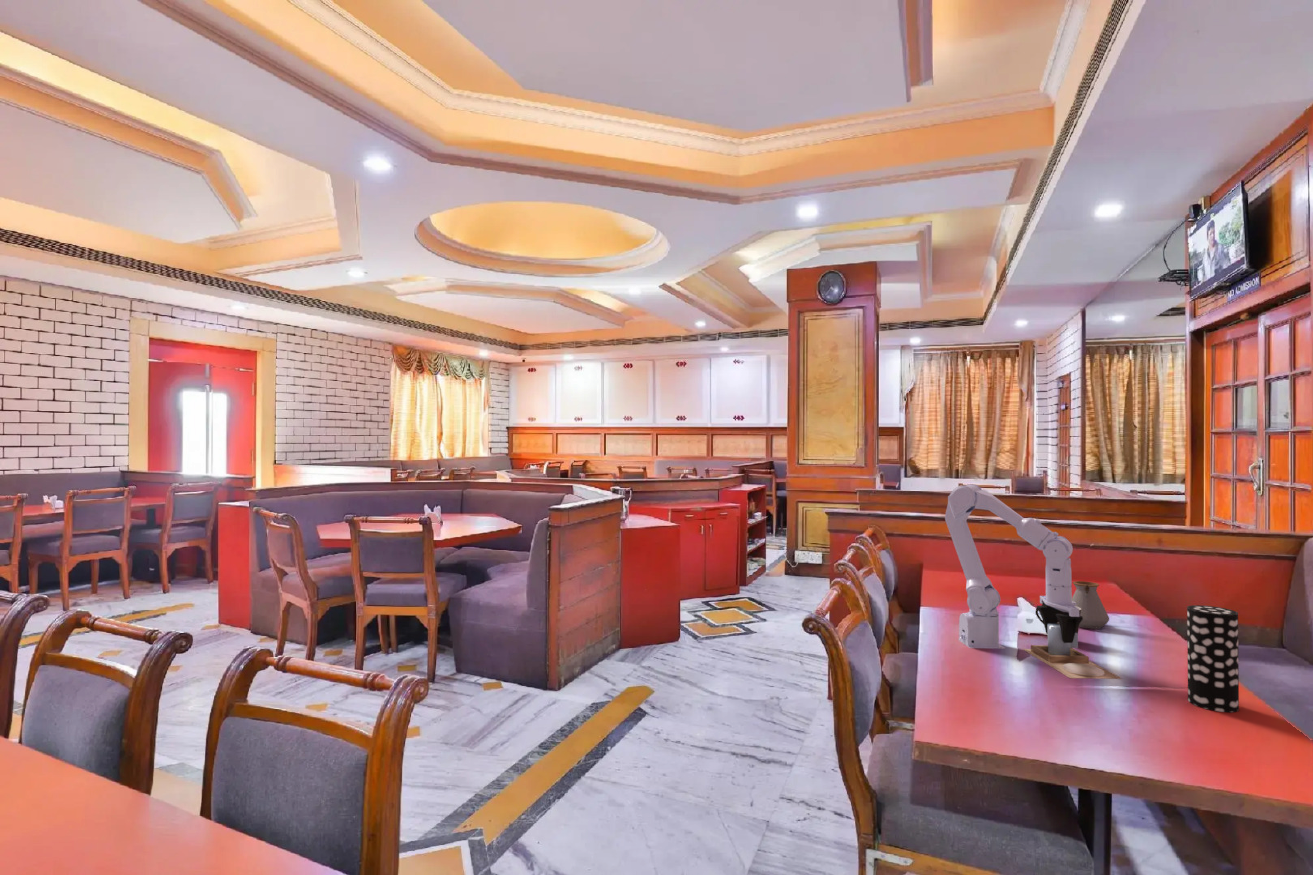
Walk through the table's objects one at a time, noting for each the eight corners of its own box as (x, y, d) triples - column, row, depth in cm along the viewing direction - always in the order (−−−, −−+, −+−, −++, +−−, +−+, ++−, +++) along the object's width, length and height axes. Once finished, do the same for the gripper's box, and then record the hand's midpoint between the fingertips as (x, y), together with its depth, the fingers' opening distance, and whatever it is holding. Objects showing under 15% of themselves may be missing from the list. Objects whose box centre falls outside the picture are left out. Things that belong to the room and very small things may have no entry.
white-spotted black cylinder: (1230, 700, 144) (1229, 607, 144) (1245, 715, 136) (1244, 616, 136) (1182, 694, 147) (1182, 603, 147) (1194, 708, 140) (1193, 612, 140)
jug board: (1069, 680, 156) (1069, 670, 156) (1022, 651, 178) (1022, 642, 178) (1122, 681, 156) (1122, 671, 156) (1068, 651, 177) (1068, 643, 178)
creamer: (1054, 660, 169) (1054, 628, 169) (1043, 653, 174) (1043, 623, 174) (1082, 660, 169) (1082, 628, 169) (1071, 654, 174) (1071, 623, 174)
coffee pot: (1064, 618, 211) (1064, 571, 211) (1108, 623, 205) (1108, 574, 205) (1063, 634, 193) (1063, 583, 193) (1111, 641, 187) (1111, 587, 187)
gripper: (1091, 591, 164) (1092, 646, 164) (1058, 579, 179) (1059, 630, 178) (1062, 590, 164) (1063, 646, 164) (1031, 579, 179) (1032, 630, 179)
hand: (1059, 638), depth 171 cm, fingers open, 7 cm apart
